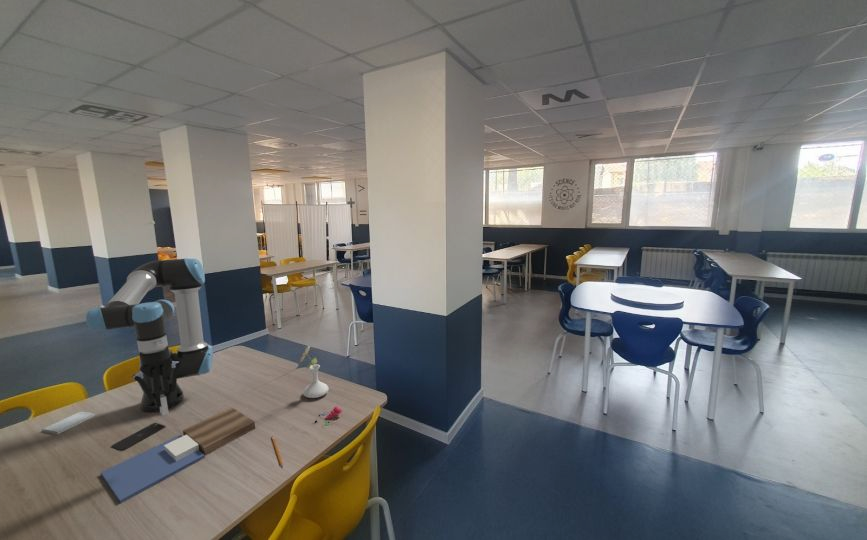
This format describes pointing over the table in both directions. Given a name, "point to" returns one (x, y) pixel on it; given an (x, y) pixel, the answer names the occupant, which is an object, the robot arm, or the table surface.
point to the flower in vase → (314, 379)
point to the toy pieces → (332, 414)
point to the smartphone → (138, 436)
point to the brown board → (219, 430)
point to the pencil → (277, 451)
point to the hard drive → (68, 422)
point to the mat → (146, 470)
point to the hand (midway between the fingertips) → (164, 413)
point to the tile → (181, 447)
